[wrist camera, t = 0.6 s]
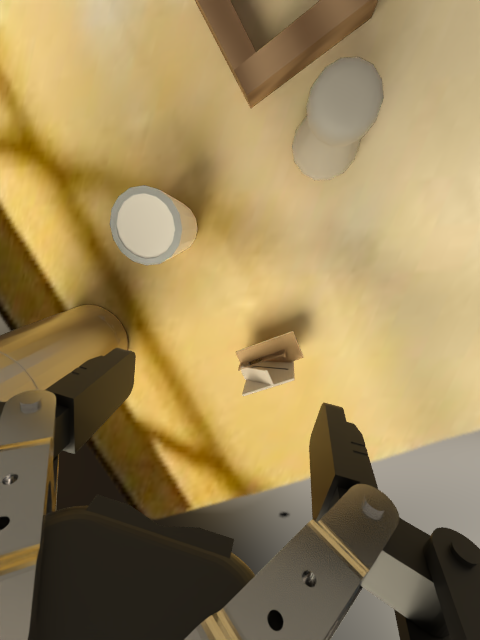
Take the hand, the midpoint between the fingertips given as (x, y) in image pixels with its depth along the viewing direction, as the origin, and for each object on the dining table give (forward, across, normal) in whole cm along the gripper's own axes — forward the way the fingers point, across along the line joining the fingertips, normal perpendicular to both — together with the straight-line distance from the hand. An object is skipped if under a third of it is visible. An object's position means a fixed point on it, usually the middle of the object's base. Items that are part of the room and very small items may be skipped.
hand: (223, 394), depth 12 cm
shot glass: (+23, -12, +4) cm, 26 cm away
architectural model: (+23, +2, -8) cm, 25 cm away
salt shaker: (+24, +2, +14) cm, 27 cm away
